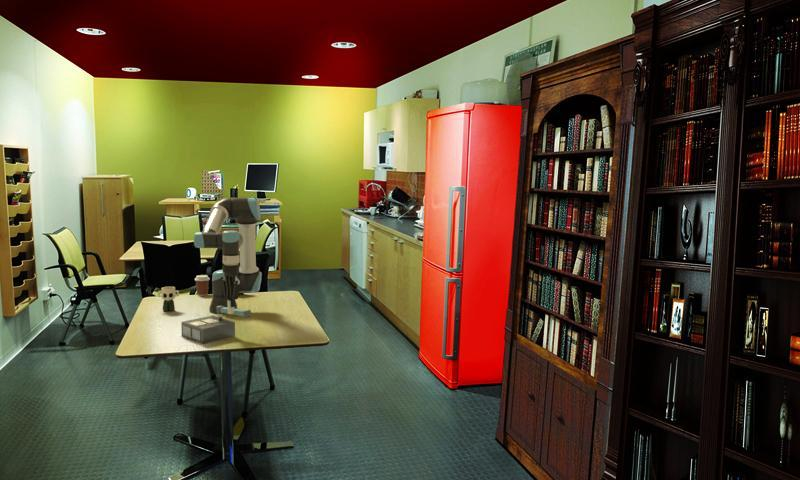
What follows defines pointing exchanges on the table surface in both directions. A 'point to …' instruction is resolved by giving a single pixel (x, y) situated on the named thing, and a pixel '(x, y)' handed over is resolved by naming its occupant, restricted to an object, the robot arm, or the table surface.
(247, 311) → the cable arm
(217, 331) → the box
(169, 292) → the big eared figurine
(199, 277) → the coffee cup
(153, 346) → the table surface
